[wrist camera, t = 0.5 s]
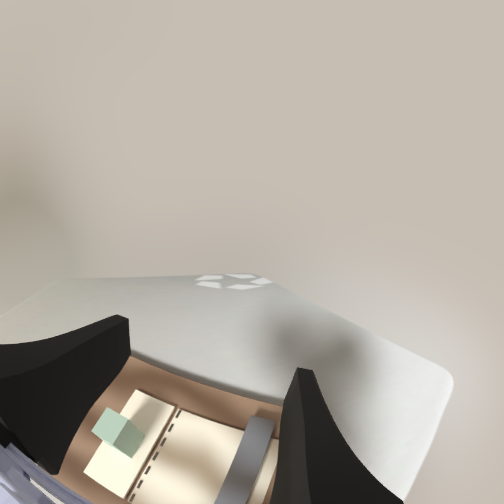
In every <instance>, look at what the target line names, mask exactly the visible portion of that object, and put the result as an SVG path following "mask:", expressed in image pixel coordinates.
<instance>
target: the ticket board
mask: <svg viewBox="0 0 504 504" xmlns="http://www.w3.org/2000/svg"><path fill="white" fill-rule="evenodd" d="M135 390H138V391H140V392H142V393H144V394H146V395H149V396H151V397H153V398H155V399H158V400H160V401H162V402H164V403H167V404H169V405H172V406H174V407H175V410H174V412H173V414H172V415H171V417H170V419H169V421H168V423H167V425H166V426H165V428H164V430H163V432H162V434H161V435H160V437H159V439H158V441H157V443H156V444H155V446H154V448H153V450H152V451H151V453H150V455H149V457H148V459H147V460H146V462H145V464H144V466H143V468H142V469H141V471H140V473H139V475H138V476H137V478H136V480H135V482H134V484H133V485H132V487H131V489H130V491H129V492H128V494H127V496H126V498H125V499H123V498H121V497H120V496H118V495H116V494H115V493H113V492H112V491H110V490H108V489H107V488H105V487H104V486H102V485H101V484H99V483H98V482H96V481H95V480H94V479H92V478H91V477H89V476H88V475H87V474H85V473H84V470H85V468H86V467H87V465H88V464H89V462H90V460H91V459H92V457H93V455H94V454H95V452H96V451H97V449H98V447H99V446H100V444H101V443H102V441H103V440H102V439H101V438H99V437H98V436H97V435H96V434H94V433H93V432H92V429H93V428H94V426H95V425H96V423H97V421H98V420H99V418H100V417H101V415H102V414H103V412H104V411H105V409H106V408H107V407H108V408H110V409H112V410H113V411H115V412H117V413H119V414H120V413H121V411H122V410H123V408H124V407H125V405H126V403H127V402H128V400H129V399H130V397H131V396H132V394H133V393H134V391H135ZM282 409H283V406H278V405H274V404H270V403H266V402H262V401H258V400H254V399H250V398H247V397H243V396H239V395H236V394H232V393H229V392H226V391H222V390H219V389H216V388H213V387H210V386H207V385H204V384H201V383H198V382H195V381H192V380H189V379H187V378H184V377H181V376H178V375H176V374H173V373H170V372H168V371H165V370H163V369H160V368H158V367H155V366H153V365H150V364H148V363H146V362H143V361H141V360H139V359H136V358H134V357H132V356H130V357H129V359H128V360H127V362H126V364H125V365H124V367H123V369H122V370H121V372H120V373H119V374H118V376H117V377H116V378H115V379H114V380H113V382H112V383H111V384H110V385H109V386H108V388H107V389H106V390H105V391H104V393H103V394H102V395H101V396H100V397H99V399H98V400H97V401H96V402H95V403H94V405H93V406H92V408H91V409H90V410H89V412H88V414H87V415H86V417H85V418H84V420H83V422H82V423H81V425H80V427H79V429H78V431H77V432H76V434H75V436H74V438H73V440H72V442H71V444H70V446H69V449H68V451H67V453H66V455H65V458H64V460H63V463H62V465H61V468H60V471H59V474H58V475H51V476H52V477H53V478H55V479H56V480H57V481H59V482H60V483H62V484H63V485H65V486H66V487H68V488H69V489H71V490H72V491H74V492H75V493H77V494H79V495H80V496H82V497H83V498H85V499H87V500H88V501H90V502H92V503H94V504H269V503H270V499H271V495H272V490H273V486H274V481H275V476H276V469H277V459H278V445H279V431H280V420H281V414H282ZM39 467H40V466H39ZM40 468H41V467H40ZM41 469H42V468H41ZM43 470H44V469H43ZM44 471H45V470H44ZM45 472H46V471H45ZM47 473H48V472H47ZM48 474H49V473H48ZM49 475H50V474H49Z"/></svg>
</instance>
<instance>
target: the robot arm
mask: <svg viewBox="0 0 504 504" xmlns="http://www.w3.org/2000/svg"><path fill="white" fill-rule="evenodd" d="M130 355H131V349H130V336H129V319H128V318H125V317H122V316H120V315H114V316H111V317H108V318H105V319H103V320H100V321H98V322H95V323H92V324H90V325H87V326H85V327H82V328H79V329H77V330H74V331H71V332H68V333H65V334H62V335H59V336H55V337H52V338H48V339H43V340H39V341H34V342H26V343H18V344H0V504H55V503H54V502H53V501H52V500H50V499H49V498H48V497H47V496H46V495H45V494H44V493H43V492H41V491H40V490H39V489H38V488H37V487H35V486H34V485H33V484H32V483H31V482H30V478H31V479H32V480H34V481H35V482H36V483H37V484H39V485H40V486H41V487H42V488H44V489H45V490H46V491H48V492H49V493H50V494H52V495H53V496H55V497H56V498H57V499H59V500H60V501H62V502H63V503H65V504H94V503H92V502H90V501H88V500H87V499H85V498H83V497H82V496H80V495H79V494H77V493H75V492H74V491H72V490H71V489H69V488H68V487H66V486H65V485H63V484H62V483H60V482H59V481H57V480H56V479H55V478H53V477H52V476H51V475H58V474H59V471H60V468H61V465H62V463H63V460H64V458H65V455H66V453H67V451H68V449H69V446H70V444H71V442H72V440H73V438H74V436H75V434H76V432H77V431H78V429H79V427H80V425H81V423H82V422H83V420H84V418H85V417H86V415H87V414H88V412H89V410H90V409H91V408H92V406H93V405H94V403H95V402H96V401H97V400H98V399H99V397H100V396H101V395H102V394H103V393H104V391H105V390H106V389H107V388H108V386H109V385H110V384H111V383H112V382H113V380H114V379H115V378H116V377H117V376H118V374H119V373H120V372H121V370H122V369H123V367H124V365H125V364H126V362H127V360H128V359H129V357H130ZM29 458H30V459H31V460H32V461H31V460H30V459H29ZM35 463H36V464H37V465H38V466H37V465H36V464H35ZM39 466H40V467H41V468H42V469H41V468H40V467H39ZM43 469H44V470H45V471H46V472H45V471H44V470H43ZM47 472H48V473H49V474H50V475H49V474H48V473H47ZM269 504H404V503H403V501H402V500H401V499H399V498H398V497H397V496H396V495H394V494H393V493H392V492H391V491H389V490H388V489H387V488H386V487H384V486H383V485H382V484H381V483H380V482H379V481H378V480H377V479H376V478H375V477H374V476H373V475H372V474H371V473H370V472H369V471H368V470H367V468H366V467H365V466H364V465H363V464H362V463H361V461H360V460H359V459H358V458H357V457H356V455H355V454H354V452H353V451H352V450H351V448H350V447H349V445H348V444H347V442H346V441H345V439H344V438H343V436H342V434H341V433H340V431H339V429H338V427H337V426H336V424H335V422H334V420H333V418H332V416H331V414H330V412H329V410H328V407H327V405H326V403H325V401H324V398H323V396H322V393H321V391H320V388H319V386H318V383H317V380H316V377H315V374H314V372H313V371H312V370H308V369H303V368H298V367H297V369H296V372H295V375H294V377H293V380H292V382H291V385H290V387H289V390H288V392H287V395H286V397H285V400H284V404H283V409H282V414H281V420H280V431H279V445H278V459H277V469H276V476H275V481H274V486H273V490H272V495H271V499H270V503H269Z"/></svg>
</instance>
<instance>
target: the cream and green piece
mask: <svg viewBox="0 0 504 504" xmlns="http://www.w3.org/2000/svg"><path fill="white" fill-rule="evenodd" d="M174 410H175V407H174V406H172V405H169V404H167V403H164V402H162V401H160V400H158V399H155V398H153V397H151V396H149V395H146V394H144V393H142V392H140V391H138V390H135V391H134V393H133V394H132V396H131V397H130V399H129V400H128V402H127V403H126V405H125V407H124V408H123V410H122V411H121V413H120V414H119V413H117V412H115V411H113V410H112V409H110V408H108V407H107V408H106V409H105V411H104V412H103V414H102V415H101V417H100V418H99V420H98V421H97V423H96V425H95V426H94V428H93V429H92V432H93V433H94V434H96V435H97V436H98V437H99V438H101V439H102V440H103V441H102V443H101V444H100V446H99V447H98V449H97V451H96V452H95V454H94V455H93V457H92V459H91V460H90V462H89V464H88V465H87V467H86V468H85V470H84V473H85V474H87V475H88V476H89V477H91V478H92V479H94V480H95V481H96V482H98V483H99V484H101V485H102V486H104V487H105V488H107V489H108V490H110V491H112V492H113V493H115V494H116V495H118V496H120V497H121V498H123V499H125V498H126V496H127V494H128V492H129V491H130V489H131V487H132V485H133V484H134V482H135V480H136V478H137V476H138V475H139V473H140V471H141V469H142V468H143V466H144V464H145V462H146V460H147V459H148V457H149V455H150V453H151V451H152V450H153V448H154V446H155V444H156V443H157V441H158V439H159V437H160V435H161V434H162V432H163V430H164V428H165V426H166V425H167V423H168V421H169V419H170V417H171V415H172V414H173V412H174Z"/></svg>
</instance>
